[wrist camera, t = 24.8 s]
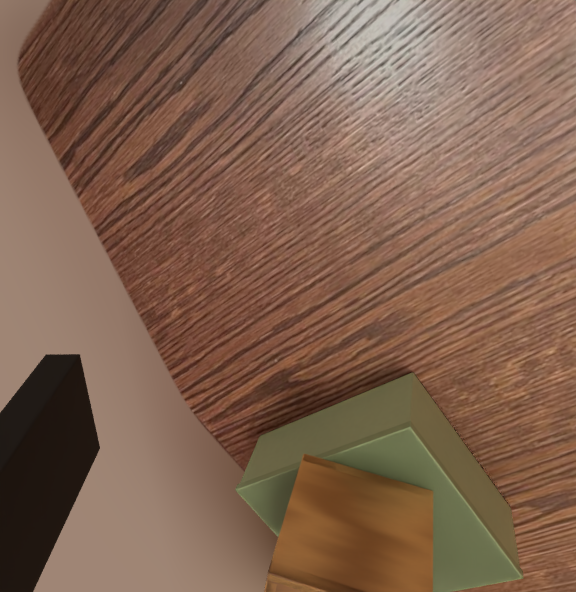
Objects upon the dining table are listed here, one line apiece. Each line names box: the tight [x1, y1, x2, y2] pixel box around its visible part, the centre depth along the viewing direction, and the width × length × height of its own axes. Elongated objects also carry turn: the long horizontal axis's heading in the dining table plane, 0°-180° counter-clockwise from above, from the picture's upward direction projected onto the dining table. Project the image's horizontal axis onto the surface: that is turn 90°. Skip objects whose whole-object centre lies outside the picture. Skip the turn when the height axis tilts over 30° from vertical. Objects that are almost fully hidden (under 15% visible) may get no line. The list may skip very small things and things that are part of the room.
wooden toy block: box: [264, 454, 433, 592], centre depth 33 cm, size 9×9×9 cm
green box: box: [236, 372, 523, 592], centre depth 40 cm, size 15×15×6 cm
